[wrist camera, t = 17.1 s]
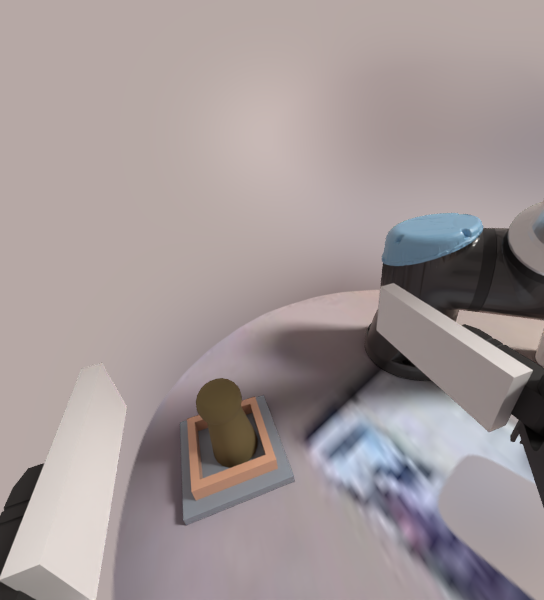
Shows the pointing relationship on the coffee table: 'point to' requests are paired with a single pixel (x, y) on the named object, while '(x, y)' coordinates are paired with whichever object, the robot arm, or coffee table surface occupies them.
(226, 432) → the cork
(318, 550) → the coffee table surface
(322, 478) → the coffee table surface
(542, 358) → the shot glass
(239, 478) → the pallet plate
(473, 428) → the coffee table surface
